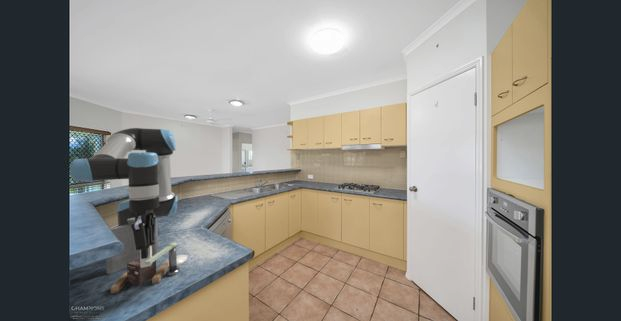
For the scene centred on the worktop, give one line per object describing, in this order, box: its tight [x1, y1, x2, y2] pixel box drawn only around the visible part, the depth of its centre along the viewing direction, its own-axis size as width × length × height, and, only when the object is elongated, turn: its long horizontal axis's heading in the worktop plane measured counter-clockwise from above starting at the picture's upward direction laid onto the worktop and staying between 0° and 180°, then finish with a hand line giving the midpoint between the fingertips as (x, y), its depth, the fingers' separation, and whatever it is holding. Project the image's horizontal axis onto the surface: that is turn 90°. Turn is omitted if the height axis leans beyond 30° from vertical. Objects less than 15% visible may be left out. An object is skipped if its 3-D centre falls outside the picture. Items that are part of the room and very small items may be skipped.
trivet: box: [161, 254, 188, 269], centre depth 79 cm, size 9×9×1 cm
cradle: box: [110, 263, 169, 295], centre depth 68 cm, size 10×13×2 cm
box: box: [126, 258, 157, 287], centre depth 68 cm, size 6×6×7 cm
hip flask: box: [105, 217, 159, 275], centre depth 78 cm, size 16×4×20 cm, turn 138°
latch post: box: [165, 247, 181, 277], centre depth 71 cm, size 4×4×10 cm
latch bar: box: [145, 242, 178, 265], centre depth 66 cm, size 3×14×1 cm, turn 5°
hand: (146, 265), depth 62 cm, fingers closed
